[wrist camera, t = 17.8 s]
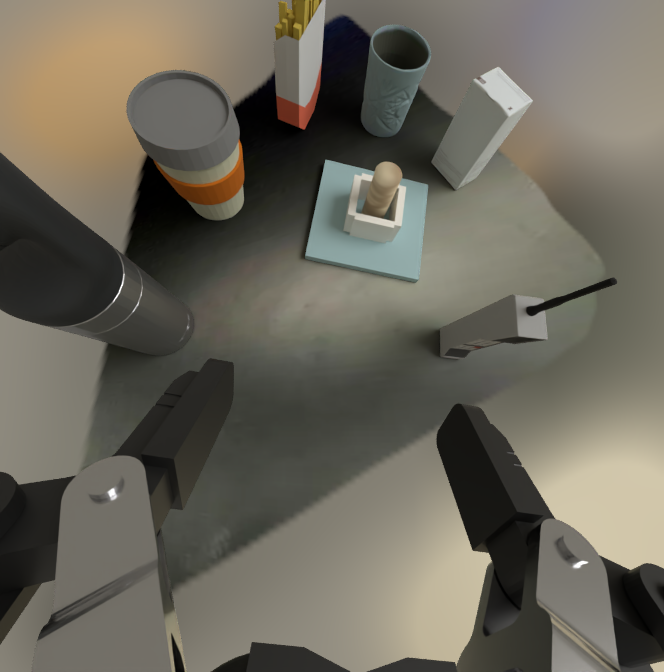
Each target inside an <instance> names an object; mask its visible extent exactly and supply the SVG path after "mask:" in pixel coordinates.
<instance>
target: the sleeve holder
mask: <svg viewBox="0 0 664 672" xmlns="http://www.w3.org/2000/svg"><path fill="white" fill-rule="evenodd" d="M373 175H374V171H370V170H366V169H362V168H358V167H354V166H350V165H345V164H341V163H337V162H333V161H329V160H325V165H324V170H323V174H322V179H321V184H320V188H319V193H318V198H317V202H316V207H315V212H314V217H313V221H312V226H311V231H310V235H309V240H308V245H307V249H306V254H305V259H307V260H312V261H317V262H322V263H326V264H331V265H336V266H340V267H345V268H350V269H354V270H359V271H364V272H368V273H373V274H378V275H382V276H387V277H392V278H397V279H401V280H406V281H411V282H415V283H416V282H417V281H418V280H419V273H420V263H421V253H422V243H423V233H424V222H425V212H426V202H427V192H428V185H427V184H423V183H419V182H415V181H411V180H407V179H403V178H402V179H401V181H400V183H399V186H398V188H397V190H396V192H395V194H394V196H393V199H392V201H391V203H390V205H389V207H388V209H387V212H386V214H385V216H384V218H383V219H381V218H377V217H373V216H368V215H364V214H361V212H362V209H363V206H364V203H365V200H366V197H367V194H368V190H369V187H370V184H371V181H372V178H373Z"/></svg>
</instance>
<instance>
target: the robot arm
mask: <svg viewBox="0 0 664 672" xmlns="http://www.w3.org/2000/svg"><path fill="white" fill-rule="evenodd" d="M0 309H1V310H2V311H4V312H6V313H8V314H9V315H12V316H14V317H17V318H19V319H22V320H26V321H30V322H33V323H37V324H40V325H45V326H48V327H52V328H56V329H59V330H63V331H66V332H70V333H74V334H78V335H81V336H85V337H89V338H92V339H96V340H99V341H103V342H106V343H110V344H113V345H117V346H121V347H124V348H128V349H131V350H134V351H138V352H142V353H145V354H149V355H155V356H162V355H167V354H171V353H173V352H175V351H177V350H179V349H180V348H182V347H183V346H184V345H185V344H186V343H187V341H188V340H189V339H190V337H191V334H192V332H193V327H194V319H193V316H192V313H191V311H190V309H189V308H188V307H187V306H186V305H185V304H184V303H183V302H181V301H180V300H179V299H178V298H177V297H175V296H174V295H173V294H172V293H170V292H169V291H168V290H167V289H165V288H164V287H163V286H162V285H160V284H159V283H158V282H157V281H155V280H154V279H153V278H152V277H150V276H149V275H148V274H147V273H145V272H144V271H143V270H142V269H140V268H139V267H138V266H137V265H135V264H134V263H133V262H132V261H130V260H129V259H128V258H127V257H125V256H124V255H123V254H122V253H120V252H119V251H118V250H117V249H115V248H114V247H113V246H112V245H110V244H109V243H108V242H107V241H105V240H104V239H103V238H102V237H100V236H99V235H98V234H96V233H95V232H94V231H92V230H91V229H90V228H88V227H87V226H86V225H85V224H83V223H82V222H81V221H80V220H78V219H77V218H76V217H74V216H73V215H72V214H71V213H70V212H68V211H67V210H66V209H65V208H63V207H62V206H61V205H60V204H58V203H57V202H56V201H55V200H54V199H52V198H51V197H50V196H49V195H48V194H47V193H46V192H44V191H43V190H42V189H41V188H40V187H39V186H37V185H36V184H35V183H34V182H33V181H32V180H31V179H29V178H28V177H27V176H26V175H25V174H24V173H23V172H22V171H20V170H19V169H18V168H17V167H16V166H15V165H14V164H12V162H10V161H9V160H8V159H7V158H6V157H5V156H4V155H3V154H1V153H0ZM233 387H234V365H233V363H232V362H228V361H222V360H216V359H208V360H207V362H206V363H205V364H204V366H203V367H202V369H201V370H200V371H199V372H194V371H188V372H187V373H185V374H183V375H182V376H180V377H179V378H177V379H175V380H174V381H173V383H172V384H171V385H170V386H169V388H168V389H167V390H166V391H165V393H164V395H162V396H161V398H160V399H159V400H158V401H157V403H156V405H155V406H153V408H152V409H151V410H150V411H149V413H148V414H147V415H146V416H145V417H144V419H143V420H142V421H141V422H140V424H139V425H138V426H137V427H136V429H135V430H134V431H133V432H132V434H131V435H130V436H129V437H128V439H127V440H126V441H125V442H124V444H123V445H122V446H121V447H120V449H119V450H118V451H117V452H116V453H115V454H114V455H113V456H112V457H109V458H105V459H103V460H100V461H98V462H96V463H94V464H92V465H90V466H89V467H87V468H85V469H84V470H83V471H81V472H80V473H79V474H78V475H76V476H72V477H67V478H61V479H54V480H47V481H41V482H34V483H28V484H21V485H18V484H17V482H16V481H15V480H14V478H13V477H12V476H11V475H9V474H7V473H4V472H0V644H1V643H2V641H3V640H4V638H5V637H6V635H7V634H8V632H9V631H10V629H11V628H12V626H13V625H14V624H15V622H16V620H17V619H18V618H19V616H20V615H21V613H22V612H23V610H24V608H25V607H26V606H27V604H28V603H29V601H30V599H31V598H32V597H33V595H34V594H35V592H36V591H37V589H38V588H39V586H40V585H41V584H42V583H44V582H48V581H52V580H55V589H54V602H53V610H52V615H51V618H50V620H49V622H48V623H47V624H46V625H45V626H44V627H43V628H42V630H41V632H40V634H39V637H38V640H37V643H36V647H35V651H34V657H33V664H32V672H187V671H186V665H185V659H184V653H183V647H182V641H181V636H180V631H179V626H178V621H177V616H176V611H175V607H174V601H173V595H172V590H171V584H170V578H169V572H168V566H167V560H166V554H165V548H164V542H163V536H162V530H161V526H162V524H163V522H164V520H165V518H166V516H167V514H168V512H169V510H170V508H171V509H179V510H183V509H184V507H185V505H186V503H187V500H188V498H189V496H190V494H191V492H192V490H193V488H194V486H195V483H196V481H197V479H198V477H199V475H200V473H201V471H202V469H203V466H204V464H205V462H206V460H207V458H208V456H209V454H210V451H211V449H212V447H213V445H214V443H215V441H216V439H217V437H218V434H219V432H220V430H221V428H222V426H223V424H224V422H225V420H226V417H227V415H228V413H229V411H230V408H231V405H232V401H233ZM437 448H438V451H439V454H440V456H441V459H442V462H443V465H444V468H445V471H446V474H447V477H448V480H449V483H450V486H451V488H452V491H453V494H454V497H455V500H456V503H457V506H458V509H459V512H460V515H461V518H462V521H463V524H464V526H465V530H466V532H467V535H468V538H469V541H470V544H471V547H472V550H473V551H479V552H486V553H489V554H490V557H491V560H492V561H491V562H490V563H489V565H488V566H487V570H486V575H485V579H484V584H483V588H482V593H481V597H480V602H479V607H478V612H477V616H476V621H475V625H474V630H473V634H472V636H471V639H470V641H469V643H468V644H467V646H466V647H465V649H464V650H463V652H462V654H461V656H460V658H459V660H458V663H457V666H456V664H455V662H446V661H436V660H427V659H417V658H405V659H402V660H399V661H396V662H393V663H391V664H388V665H385V666H382V667H379V668H377V669H374V670H371V671H368V672H654V671H653V669H652V668H651V666H650V664H653V663H657V662H661V661H664V569H663V568H661V567H659V566H657V565H654V564H648V563H646V564H643V565H641V566H638V567H636V568H634V569H632V570H629V569H627V568H625V567H622V566H621V565H618V564H616V563H614V562H612V561H610V560H608V559H606V558H604V557H602V556H600V555H598V553H597V552H596V551H595V549H594V548H593V547H592V545H591V544H590V543H589V542H588V541H587V540H586V539H585V538H584V537H583V536H582V535H581V534H580V533H579V532H578V531H576V530H575V529H574V528H572V527H571V526H569V525H568V524H566V523H564V522H562V521H559V520H556V519H555V518H554V516H553V515H552V513H551V512H550V510H549V508H548V506H547V505H546V503H545V502H544V500H543V498H542V497H541V495H540V493H539V492H538V490H537V488H536V487H535V485H534V484H533V482H532V480H531V479H530V477H529V476H528V474H527V472H526V470H525V469H524V468H523V467H522V466H521V462H520V461H519V459H518V457H517V456H516V455H514V451H513V449H512V447H511V446H510V444H509V443H508V441H507V439H506V438H505V437H504V436H503V435H502V434H501V432H500V431H498V429H497V428H496V427H495V426H494V425H492V424H490V422H489V421H488V419H487V417H486V415H485V414H484V412H483V410H482V409H481V408H479V407H475V406H469V405H464V404H456V405H454V406H453V408H452V409H451V411H450V413H449V414H448V416H447V417H446V419H445V421H444V422H443V424H442V425H441V427H440V429H439V430H438V433H437ZM211 672H350V671H348V670H346V669H344V668H342V667H340V666H339V665H337V664H335V663H333V662H331V661H329V660H327V659H325V658H323V657H322V656H320V655H318V654H316V653H314V652H312V651H310V650H308V649H306V648H304V647H296V646H286V645H276V644H266V643H255V642H252V644H251V649H250V653H249V654H245V655H242V656H239V657H236V658H234V659H232V660H230V661H228V662H226V663H224V664H222V665H220V666H219V667H218V668H216V669H214V670H213V671H211Z"/></svg>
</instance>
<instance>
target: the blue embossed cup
mask: <svg viewBox="0 0 664 672" xmlns="http://www.w3.org/2000/svg"><path fill="white" fill-rule="evenodd" d="M430 59H431V49H430V47H429V44H428V42H427V41H426V40H425V39H424V38H423V37H422V36H421V35H420V34H419V33H418V32H417V31H415V30H413V29H411V28H408V27H406V26H401V25H387V26H383V27H381V28H379V29H378V30H376V31H375V33H374V34H373V36H372V38H371V41H370V50H369V58H368V68H367V76H366V80H365V89H364V101H363V103H362V111H361V121H362V124H363V126H364V128H365V129H366V130H367V131H368V132H370V133H371V134H373V135H374V136H377V137H391V136H393V135H395V134H396V133H397V132H398V131H399V130H400V128H401V126H402V124H403V121H404V119H405V116H406V114H407V112H408V110H409V108H410V105H411V103H412V101H413V98H414V96H415V93H416V91H417V89H418V84H419V83H420V81H421V79H422V77H423V75H424V73H425V70H426V68H427V66H428V64H429V61H430Z"/></svg>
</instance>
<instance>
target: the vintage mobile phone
mask: <svg viewBox="0 0 664 672" xmlns="http://www.w3.org/2000/svg"><path fill="white" fill-rule="evenodd" d="M615 284H617V280H616V279H615V278H610V279H607V280H605V281H602V282H599V283H597V284H594V285H591V286H589V287H586V288H583V289H581V290H578V291H575V292H573V293H570V294H567V295H565V296H561V297H556V298H554V299H551V300H548V301H546V302H544V300H543V299H542V298H535V297H528V296H521V295H514V294H512V295H510V296H508V297H505V298H503V299H501V300H499V301H497V302H495V303H493V304H491V305H489V306H487V307H484V308H482V309H480V310H478V311H476V312H474V313H472V314H470V315H468V316H466V317H463V318H461V319H459V320H457V321H455V322H453V323H451V324H449V325H447V326H445V327H442V328H440V357H445V358H454V359H464V358H465V357H466V356H467V355H468V354H469V353H470V352H471V351H473V350H477V349H481V348H485V347H488V346H492V345H496V344H500V343H504V342H505V343H512V344H518V343H526V342H534V341H542V340H547V339H548V338H547V328H546V318H545V310H547V309H550V308H553V307H556V306H559V305H561V304H563V303H565V302H567V301H569V300H572V299H575V298H578V297H581V296H584V295H586V294H589V293H592V292H595V291H598V290H601V289H603V288H606V287H609V286H612V285H615Z"/></svg>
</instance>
